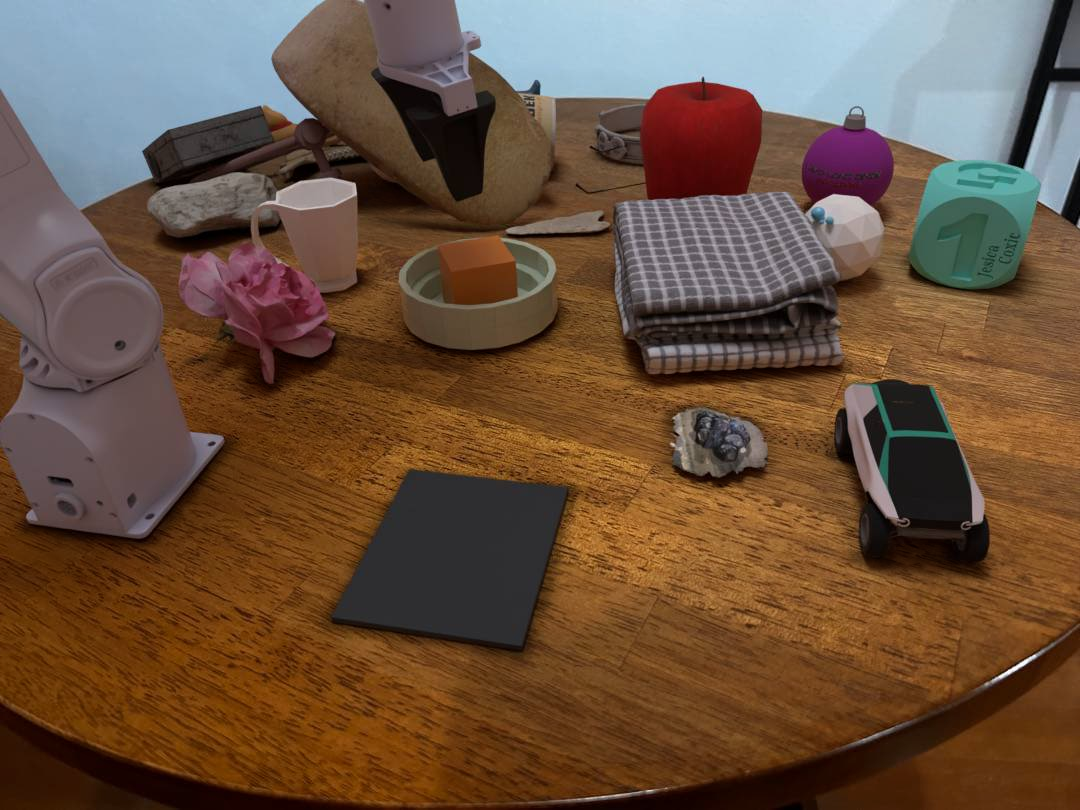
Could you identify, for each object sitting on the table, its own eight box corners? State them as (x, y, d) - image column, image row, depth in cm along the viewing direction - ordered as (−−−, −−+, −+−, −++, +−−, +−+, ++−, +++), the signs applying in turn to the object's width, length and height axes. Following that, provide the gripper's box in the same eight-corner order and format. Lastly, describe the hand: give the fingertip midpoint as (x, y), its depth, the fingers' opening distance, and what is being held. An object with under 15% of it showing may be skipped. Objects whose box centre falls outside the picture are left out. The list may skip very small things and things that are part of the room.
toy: (232, 147, 107) (223, 105, 104) (373, 142, 107) (368, 100, 104) (225, 155, 104) (215, 112, 101) (370, 150, 104) (364, 107, 101)
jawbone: (263, 169, 101) (259, 151, 100) (428, 139, 108) (426, 122, 107) (281, 187, 94) (277, 168, 93) (456, 154, 101) (454, 136, 100)
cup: (357, 302, 73) (341, 210, 68) (246, 296, 74) (223, 206, 70) (384, 264, 78) (371, 178, 74) (280, 260, 80) (260, 174, 75)
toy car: (926, 435, 55) (945, 364, 52) (981, 574, 46) (1009, 497, 43) (830, 431, 56) (844, 361, 53) (864, 567, 46) (883, 491, 43)
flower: (345, 354, 72) (380, 284, 65) (259, 426, 66) (287, 357, 58) (241, 263, 72) (264, 181, 64) (145, 325, 66) (159, 243, 58)
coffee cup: (556, 155, 89) (437, 152, 88) (550, 193, 98) (443, 190, 98) (556, 71, 91) (440, 67, 90) (550, 116, 100) (445, 113, 99)
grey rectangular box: (236, 162, 103) (152, 186, 98) (223, 128, 102) (137, 151, 97) (276, 142, 89) (181, 169, 85) (262, 103, 88) (164, 129, 84)
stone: (341, -50, 86) (347, -6, 91) (237, 49, 82) (250, 88, 87) (589, 124, 84) (579, 158, 89) (495, 235, 79) (491, 263, 85)
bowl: (538, 361, 64) (536, 314, 62) (382, 348, 67) (375, 302, 64) (570, 285, 74) (569, 241, 72) (432, 276, 76) (427, 233, 74)
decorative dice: (902, 279, 72) (923, 186, 68) (918, 241, 78) (938, 154, 74) (1008, 298, 69) (1038, 202, 65) (1016, 257, 75) (1044, 166, 70)
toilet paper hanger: (363, 105, 101) (398, 83, 89) (392, 175, 104) (430, 163, 91) (182, 172, 94) (193, 159, 81) (218, 245, 96) (234, 243, 84)
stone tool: (602, 213, 86) (502, 225, 85) (602, 205, 85) (501, 217, 84) (615, 233, 82) (510, 246, 81) (615, 224, 82) (510, 238, 80)
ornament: (881, 214, 74) (898, 179, 67) (870, 296, 74) (885, 270, 66) (798, 207, 76) (806, 172, 68) (787, 287, 75) (793, 260, 67)
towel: (780, 259, 76) (792, 172, 71) (846, 375, 61) (866, 273, 56) (605, 267, 76) (606, 180, 71) (628, 385, 61) (630, 284, 56)
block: (519, 318, 69) (516, 260, 66) (457, 330, 67) (451, 271, 65) (502, 290, 72) (498, 234, 70) (443, 301, 71) (437, 245, 68)
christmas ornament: (891, 202, 86) (912, 98, 80) (875, 234, 80) (897, 124, 74) (807, 190, 89) (822, 89, 83) (786, 220, 83) (800, 114, 77)
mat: (522, 651, 43) (521, 646, 42) (331, 622, 45) (330, 616, 44) (568, 492, 52) (568, 487, 52) (410, 473, 54) (409, 468, 54)
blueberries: (688, 494, 52) (690, 470, 50) (638, 419, 58) (639, 395, 57) (791, 471, 53) (795, 446, 52) (731, 400, 59) (733, 376, 58)
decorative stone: (209, 261, 80) (194, 209, 77) (136, 237, 85) (120, 187, 82) (307, 214, 88) (297, 166, 85) (236, 194, 93) (224, 148, 90)
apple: (630, 244, 80) (634, 91, 72) (646, 201, 88) (651, 59, 80) (749, 252, 77) (766, 95, 70) (754, 207, 85) (770, 62, 78)
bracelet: (656, 174, 93) (657, 147, 92) (567, 146, 102) (567, 120, 100) (735, 142, 101) (738, 116, 99) (647, 118, 109) (648, 94, 108)
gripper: (504, -12, 51) (538, 196, 60) (429, -57, 62) (467, 126, 70) (391, 21, 50) (443, 230, 58) (333, -31, 60) (385, 152, 69)
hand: (450, 175), depth 64 cm, fingers open, 7 cm apart
